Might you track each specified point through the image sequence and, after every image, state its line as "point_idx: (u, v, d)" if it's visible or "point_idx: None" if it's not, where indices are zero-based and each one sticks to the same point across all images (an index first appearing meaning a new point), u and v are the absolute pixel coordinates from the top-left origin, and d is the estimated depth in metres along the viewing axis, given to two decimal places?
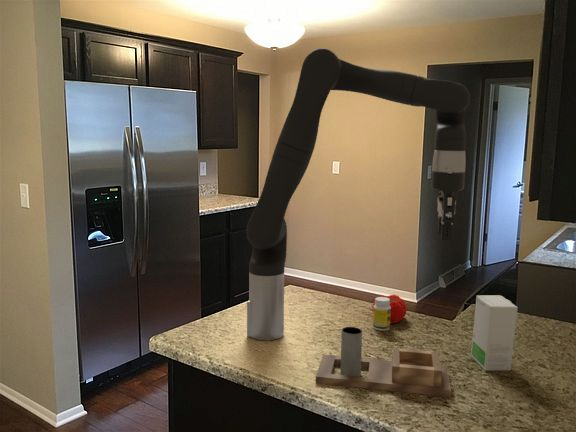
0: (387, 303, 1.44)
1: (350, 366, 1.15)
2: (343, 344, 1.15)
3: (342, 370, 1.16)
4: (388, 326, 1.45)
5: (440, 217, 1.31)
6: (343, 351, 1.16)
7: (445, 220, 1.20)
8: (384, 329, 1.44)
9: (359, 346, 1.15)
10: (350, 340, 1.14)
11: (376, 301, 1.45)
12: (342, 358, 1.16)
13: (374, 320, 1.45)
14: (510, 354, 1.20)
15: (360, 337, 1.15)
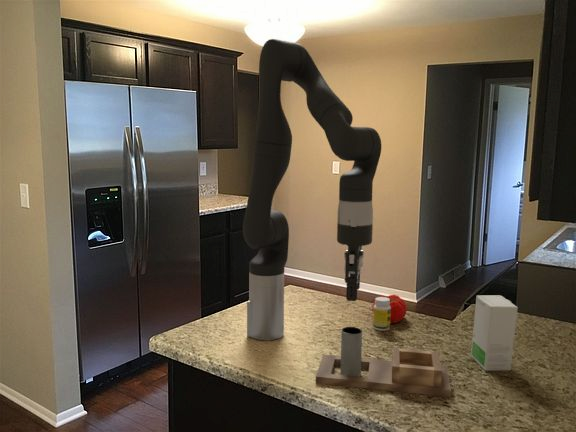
0: (387, 303, 1.44)
1: (350, 366, 1.15)
2: (343, 344, 1.15)
3: (342, 370, 1.16)
4: (388, 326, 1.45)
5: None
6: (343, 351, 1.16)
7: (347, 280, 1.08)
8: (384, 329, 1.44)
9: (359, 346, 1.15)
10: (350, 340, 1.14)
11: (376, 301, 1.45)
12: (342, 358, 1.16)
13: (374, 320, 1.45)
14: (510, 354, 1.20)
15: (360, 337, 1.15)
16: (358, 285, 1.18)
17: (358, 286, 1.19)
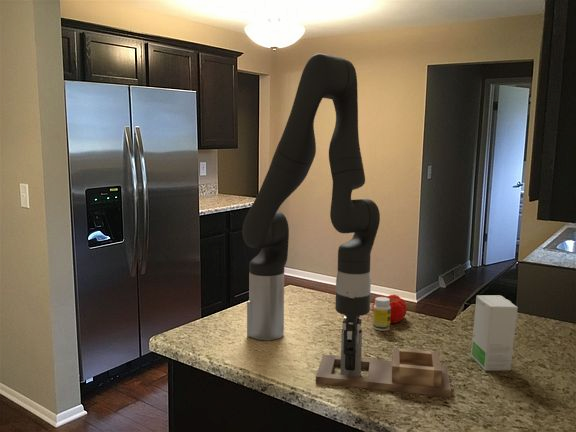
0: (387, 303, 1.44)
1: None
2: (343, 344, 1.15)
3: (342, 370, 1.16)
4: (388, 326, 1.45)
5: None
6: None
7: (346, 352, 1.11)
8: (384, 329, 1.44)
9: (359, 346, 1.15)
10: None
11: (376, 301, 1.45)
12: (342, 358, 1.16)
13: (374, 320, 1.45)
14: (510, 354, 1.20)
15: (360, 337, 1.15)
16: None
17: None
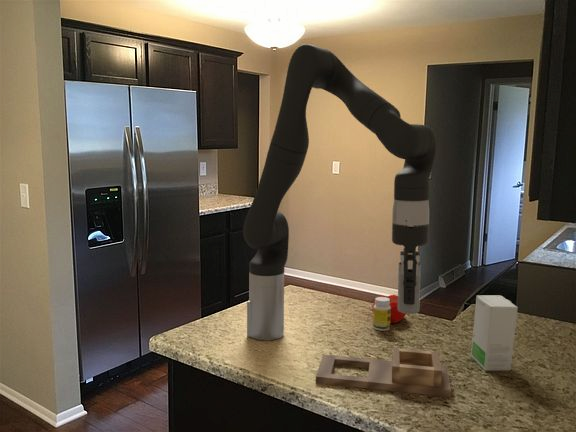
0: (387, 303, 1.44)
1: None
2: (401, 278, 1.10)
3: (400, 306, 1.11)
4: (388, 326, 1.45)
5: None
6: (400, 285, 1.11)
7: (406, 283, 1.06)
8: (384, 329, 1.44)
9: (418, 279, 1.10)
10: None
11: (376, 301, 1.45)
12: (400, 293, 1.11)
13: (374, 320, 1.45)
14: (510, 354, 1.20)
15: (419, 270, 1.10)
16: None
17: None
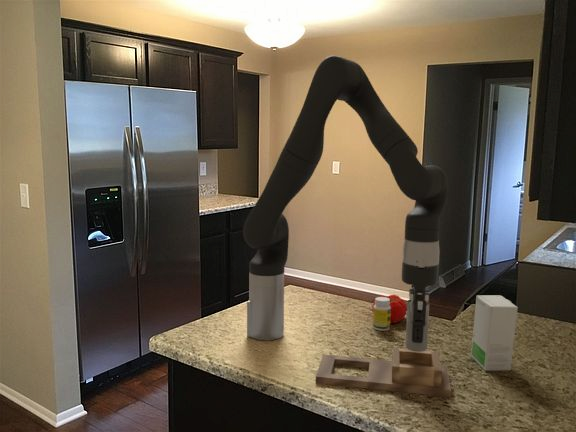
0: (387, 303, 1.44)
1: None
2: (410, 316, 1.12)
3: (408, 343, 1.13)
4: (388, 326, 1.45)
5: None
6: (409, 323, 1.12)
7: (415, 323, 1.08)
8: (384, 329, 1.44)
9: (427, 318, 1.11)
10: None
11: (376, 301, 1.45)
12: (408, 330, 1.12)
13: (374, 320, 1.45)
14: (510, 354, 1.20)
15: (428, 309, 1.11)
16: None
17: None
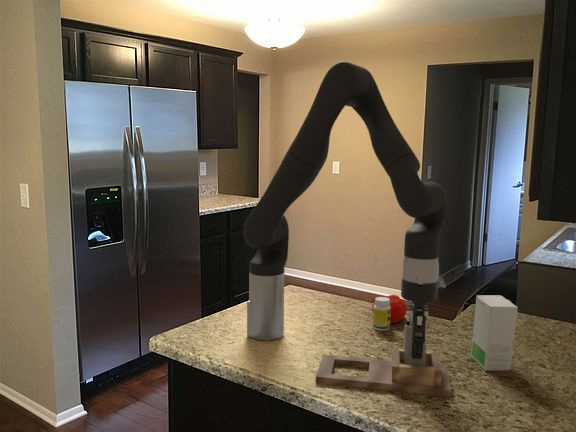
0: (387, 303, 1.44)
1: (415, 360, 1.12)
2: (407, 338, 1.12)
3: None
4: (388, 326, 1.45)
5: None
6: (407, 345, 1.13)
7: (415, 340, 1.07)
8: (384, 329, 1.44)
9: None
10: None
11: (376, 301, 1.45)
12: (406, 353, 1.13)
13: (374, 320, 1.45)
14: (510, 354, 1.20)
15: None
16: None
17: None
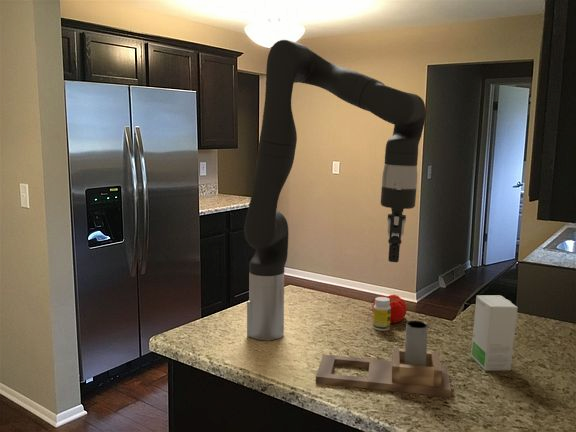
0: (387, 303, 1.44)
1: (416, 360, 1.12)
2: (408, 338, 1.12)
3: None
4: (388, 326, 1.45)
5: (391, 235, 1.22)
6: (408, 345, 1.13)
7: (391, 241, 1.11)
8: (384, 329, 1.44)
9: (425, 340, 1.12)
10: (416, 334, 1.11)
11: (376, 301, 1.45)
12: (407, 353, 1.13)
13: (374, 320, 1.45)
14: (510, 354, 1.20)
15: (426, 331, 1.12)
16: None
17: None
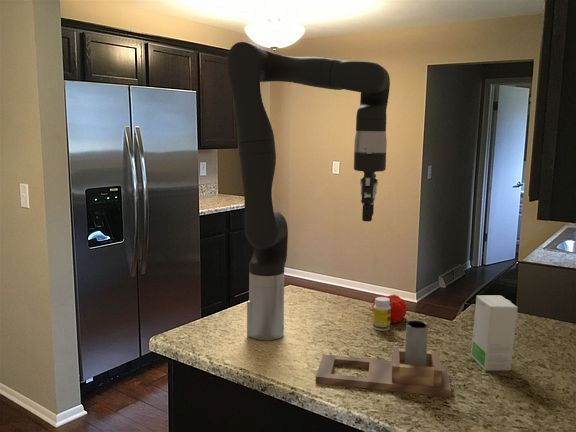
0: (387, 303, 1.44)
1: (416, 360, 1.12)
2: (409, 338, 1.12)
3: None
4: (388, 326, 1.45)
5: None
6: (408, 345, 1.13)
7: (364, 200, 1.19)
8: (384, 329, 1.44)
9: (425, 340, 1.12)
10: (416, 334, 1.11)
11: (376, 301, 1.45)
12: (407, 353, 1.13)
13: (374, 320, 1.45)
14: (510, 354, 1.20)
15: (426, 331, 1.12)
16: (372, 212, 1.30)
17: (372, 213, 1.30)
